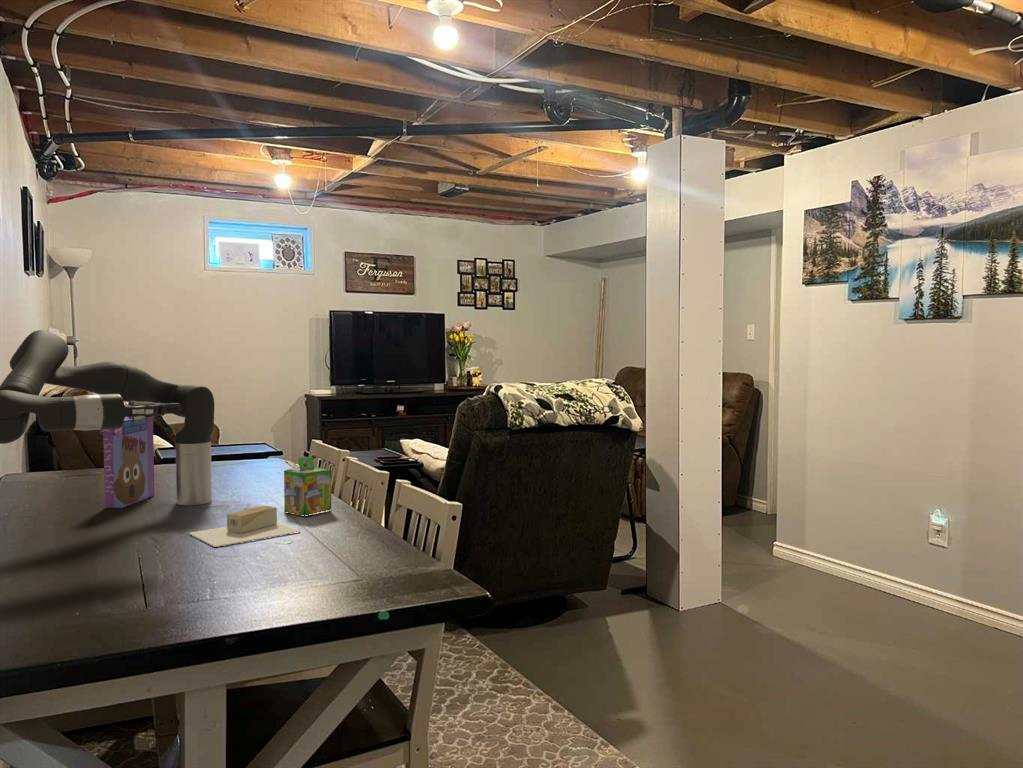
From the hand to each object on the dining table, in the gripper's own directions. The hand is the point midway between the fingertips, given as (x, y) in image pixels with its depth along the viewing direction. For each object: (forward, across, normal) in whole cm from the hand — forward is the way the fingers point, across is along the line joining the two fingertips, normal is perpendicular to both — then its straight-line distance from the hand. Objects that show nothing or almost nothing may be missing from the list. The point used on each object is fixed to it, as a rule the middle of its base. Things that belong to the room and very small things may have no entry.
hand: (180, 408), depth 170 cm
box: (+10, -5, +28) cm, 30 cm away
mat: (+12, -6, +30) cm, 33 cm away
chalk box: (+34, +5, +30) cm, 46 cm away
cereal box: (+3, +51, +30) cm, 59 cm away
